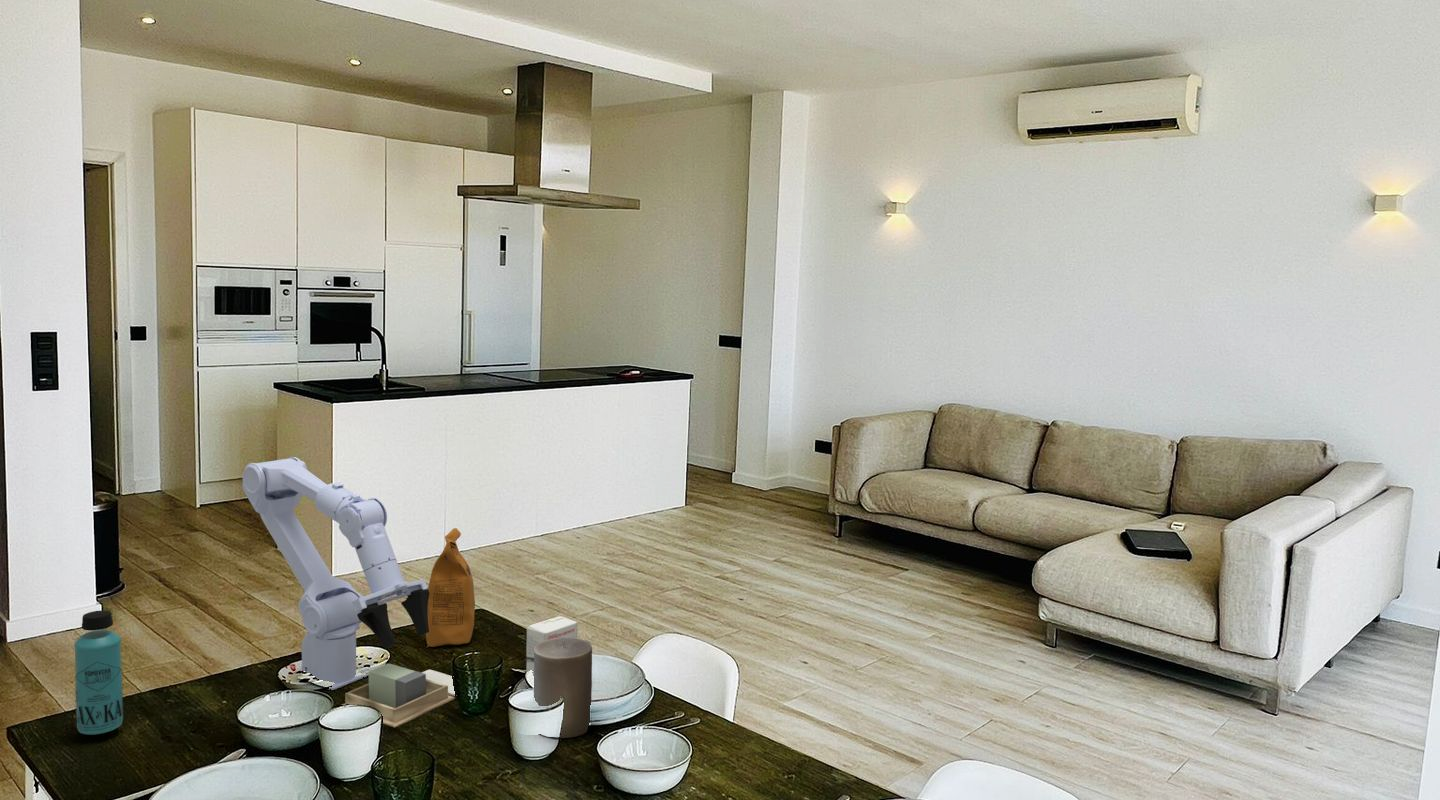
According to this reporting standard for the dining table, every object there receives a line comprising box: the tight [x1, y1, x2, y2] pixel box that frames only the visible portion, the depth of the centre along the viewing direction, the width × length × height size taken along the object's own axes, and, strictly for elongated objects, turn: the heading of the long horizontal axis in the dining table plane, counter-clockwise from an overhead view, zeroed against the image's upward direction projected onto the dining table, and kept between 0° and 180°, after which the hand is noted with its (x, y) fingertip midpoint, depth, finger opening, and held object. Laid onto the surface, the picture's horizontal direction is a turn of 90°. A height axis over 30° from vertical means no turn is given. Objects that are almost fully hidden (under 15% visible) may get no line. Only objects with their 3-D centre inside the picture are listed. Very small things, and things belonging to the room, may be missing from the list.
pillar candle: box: [533, 638, 593, 739], centre depth 166 cm, size 10×10×15 cm
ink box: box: [525, 615, 579, 676], centre depth 183 cm, size 9×5×12 cm, turn 143°
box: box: [368, 663, 426, 708], centre depth 173 cm, size 9×5×6 cm, turn 60°
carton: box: [341, 679, 456, 728], centre depth 173 cm, size 14×14×2 cm
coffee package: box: [425, 527, 476, 648], centre depth 204 cm, size 10×12×22 cm
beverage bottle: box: [73, 610, 125, 735], centre depth 157 cm, size 6×7×20 cm
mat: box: [421, 669, 455, 697], centre depth 183 cm, size 12×6×1 cm, turn 60°
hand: (407, 640), depth 171 cm, fingers open, 7 cm apart
